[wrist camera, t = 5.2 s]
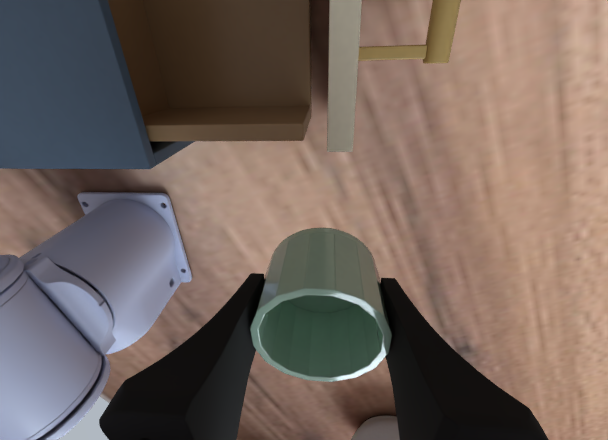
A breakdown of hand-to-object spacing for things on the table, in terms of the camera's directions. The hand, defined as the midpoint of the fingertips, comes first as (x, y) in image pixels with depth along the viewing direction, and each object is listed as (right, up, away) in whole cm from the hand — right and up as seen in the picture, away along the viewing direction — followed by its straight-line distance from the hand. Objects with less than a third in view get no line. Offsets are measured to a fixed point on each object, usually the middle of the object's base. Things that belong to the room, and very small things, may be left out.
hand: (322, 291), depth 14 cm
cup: (0, +1, +1) cm, 1 cm away
